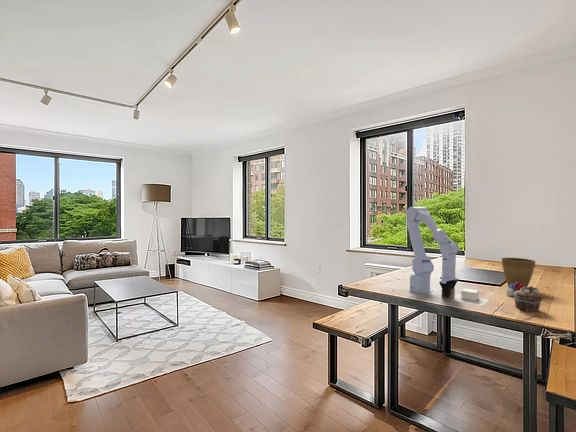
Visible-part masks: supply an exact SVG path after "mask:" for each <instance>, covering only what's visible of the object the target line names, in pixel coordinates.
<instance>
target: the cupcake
mask: <svg viewBox="0 0 576 432" xmlns="http://www.w3.org/2000/svg"><path fill="white" fill-rule="evenodd" d="M516 294H517V295H515V296H513V300H514V304H515V305H514V306H515V308H516V309H518V310H519V311H521V310H522V311H523V312H527V313H538V312H539V310H540V308H541V307H540V306H541V303H542V301H543V300H542V297H543V295H542V294H541V293H540V291H539V289H538V288H537V287H534V286H527V287H526V286H524V287H523V288H521V289H520V290H519V291H517V292H516Z"/></svg>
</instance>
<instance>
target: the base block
mask: <svg viewBox="0 0 576 432" xmlns="http://www.w3.org/2000/svg"><path fill="white" fill-rule="evenodd" d="M460 292H461V293H460V295H461V299H464V300H469V301H475V302H476V301H477V300H478V299H479V298H480V296H479V295H480V290H478V289H472V288H463V289H462V290H461V291H460Z"/></svg>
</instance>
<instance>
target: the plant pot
mask: <svg viewBox="0 0 576 432" xmlns="http://www.w3.org/2000/svg"><path fill="white" fill-rule="evenodd" d="M501 262H502V269H503V274H504V277H505V281H506V283H507V286H508V289H510V285H511V284H515V283H516V282H518V283H520V284H524V285H525V286H526V287H529V285H530V282H531V279H532V277H533V273H534V271H535V266H536V260H534V259H528V258H521V257H501Z"/></svg>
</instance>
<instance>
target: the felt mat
mask: <svg viewBox="0 0 576 432" xmlns="http://www.w3.org/2000/svg"><path fill="white" fill-rule="evenodd" d="M439 299H440V300H446V301H449V302H457V303H462V304H467V305H472V306H478V307H484V306H485V304H487V303H488V302H489V301H490V299H487V298H480V297H479V299H478V300H477V301H476V302H475V301H469V300H464V299H461V294H460V293H455V298H454V299H453V300H448V299H443V298H442V296H441V297H440V298H439Z"/></svg>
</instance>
